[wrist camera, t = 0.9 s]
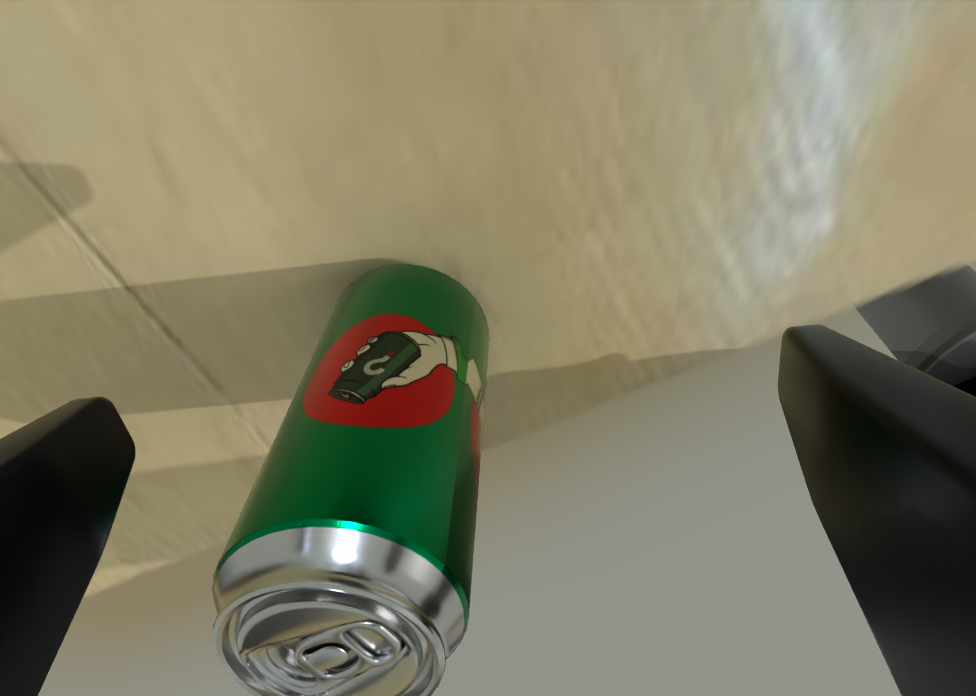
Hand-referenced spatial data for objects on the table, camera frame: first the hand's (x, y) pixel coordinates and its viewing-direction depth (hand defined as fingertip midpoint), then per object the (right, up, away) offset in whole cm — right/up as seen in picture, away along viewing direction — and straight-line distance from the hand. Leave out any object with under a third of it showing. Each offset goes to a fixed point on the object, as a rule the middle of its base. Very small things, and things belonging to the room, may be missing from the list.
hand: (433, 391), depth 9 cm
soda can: (-2, +1, +14) cm, 14 cm away
